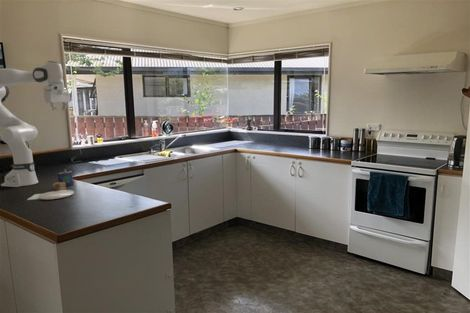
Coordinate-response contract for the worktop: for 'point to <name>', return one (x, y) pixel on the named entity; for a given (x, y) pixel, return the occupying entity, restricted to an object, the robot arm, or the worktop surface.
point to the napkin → (34, 197)
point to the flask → (66, 178)
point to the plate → (56, 194)
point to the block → (59, 186)
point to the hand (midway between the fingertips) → (59, 109)
